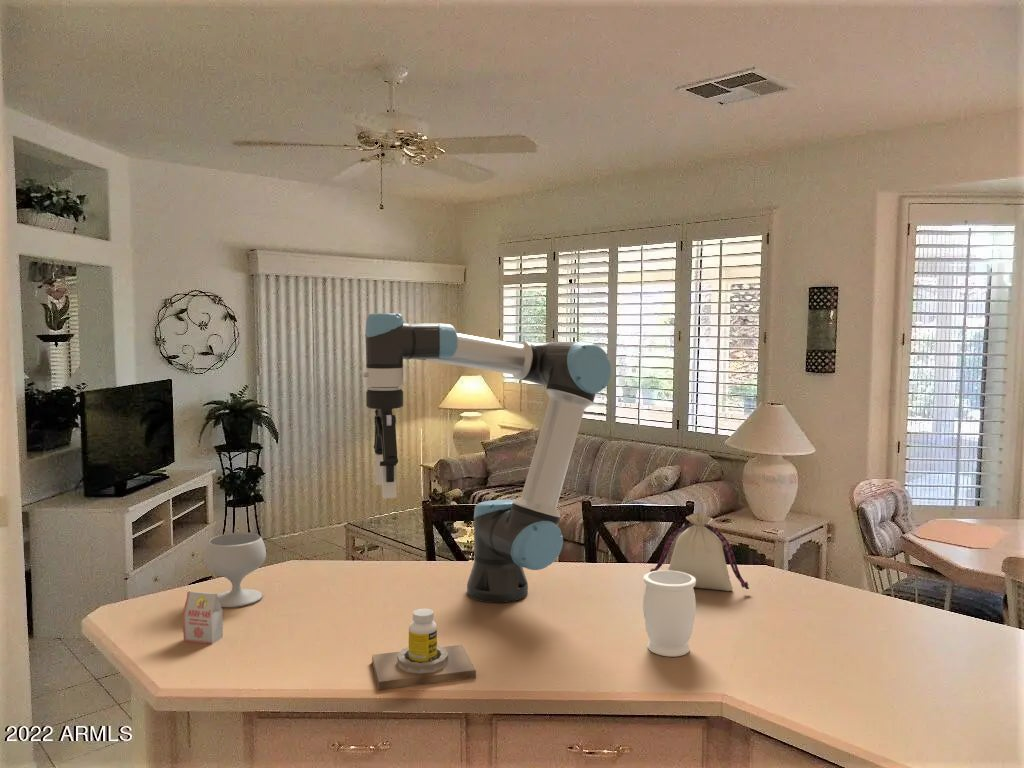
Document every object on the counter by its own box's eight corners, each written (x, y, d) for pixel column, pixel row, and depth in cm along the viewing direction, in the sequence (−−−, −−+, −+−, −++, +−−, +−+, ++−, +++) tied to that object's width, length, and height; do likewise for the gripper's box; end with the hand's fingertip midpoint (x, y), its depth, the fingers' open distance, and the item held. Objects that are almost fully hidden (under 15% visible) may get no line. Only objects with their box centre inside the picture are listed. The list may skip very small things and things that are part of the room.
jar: (664, 664, 148) (665, 588, 147) (632, 644, 157) (633, 573, 156) (705, 653, 153) (707, 580, 152) (672, 635, 162) (673, 566, 161)
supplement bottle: (431, 669, 142) (432, 618, 141) (404, 666, 143) (404, 616, 142) (440, 657, 147) (440, 608, 147) (414, 654, 148) (414, 605, 148)
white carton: (194, 634, 162) (193, 588, 161) (222, 637, 160) (221, 591, 160) (183, 641, 158) (182, 594, 158) (212, 644, 157) (211, 596, 156)
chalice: (279, 596, 185) (278, 536, 184) (230, 614, 173) (229, 550, 172) (241, 586, 193) (240, 528, 192) (192, 602, 181) (191, 541, 180)
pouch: (749, 587, 193) (750, 514, 192) (748, 598, 185) (750, 521, 184) (650, 577, 200) (651, 506, 199) (645, 587, 193) (647, 514, 191)
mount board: (462, 651, 153) (462, 637, 153) (475, 677, 142) (475, 662, 142) (372, 662, 148) (372, 647, 148) (378, 689, 137) (378, 673, 137)
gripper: (360, 384, 167) (361, 480, 168) (372, 393, 143) (373, 505, 144) (395, 384, 169) (395, 478, 170) (412, 392, 145) (412, 502, 146)
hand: (385, 491), depth 157 cm, fingers open, 13 cm apart
